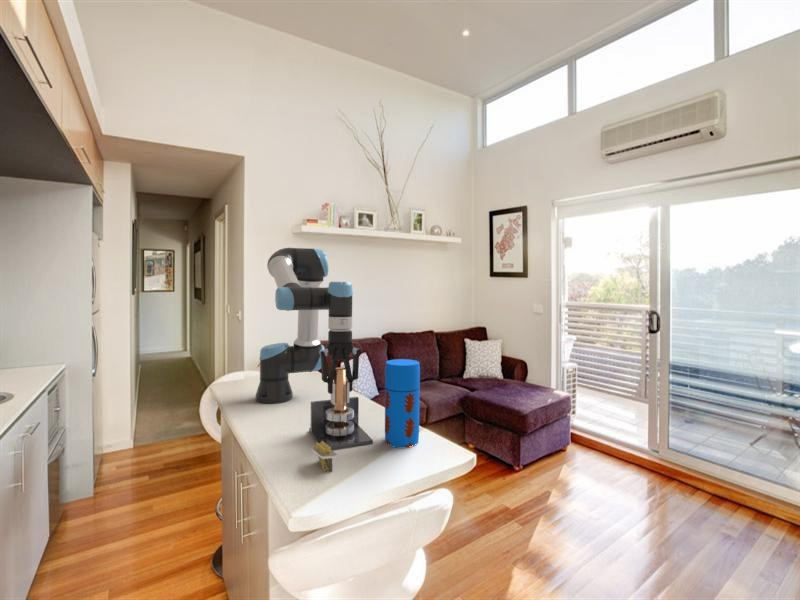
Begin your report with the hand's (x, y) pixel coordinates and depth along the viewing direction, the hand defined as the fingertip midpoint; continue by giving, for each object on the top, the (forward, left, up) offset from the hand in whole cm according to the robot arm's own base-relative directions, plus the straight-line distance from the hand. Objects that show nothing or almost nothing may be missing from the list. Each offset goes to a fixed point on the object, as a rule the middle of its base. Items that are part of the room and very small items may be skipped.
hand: (340, 402), depth 128 cm
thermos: (+11, +17, -12) cm, 23 cm away
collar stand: (0, 0, -11) cm, 11 cm away
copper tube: (0, 0, -9) cm, 9 cm away
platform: (+19, -10, -12) cm, 24 cm away
